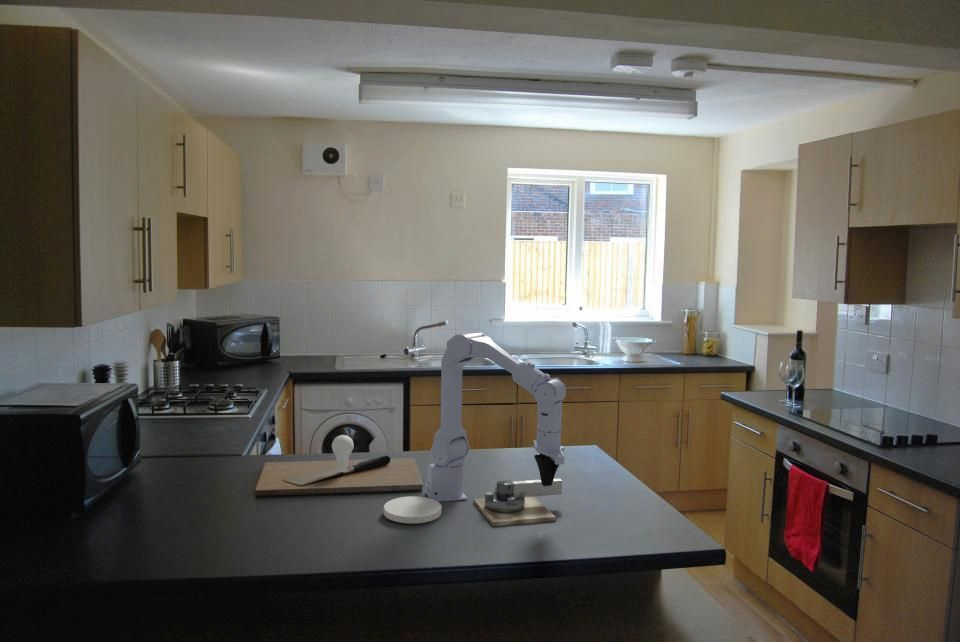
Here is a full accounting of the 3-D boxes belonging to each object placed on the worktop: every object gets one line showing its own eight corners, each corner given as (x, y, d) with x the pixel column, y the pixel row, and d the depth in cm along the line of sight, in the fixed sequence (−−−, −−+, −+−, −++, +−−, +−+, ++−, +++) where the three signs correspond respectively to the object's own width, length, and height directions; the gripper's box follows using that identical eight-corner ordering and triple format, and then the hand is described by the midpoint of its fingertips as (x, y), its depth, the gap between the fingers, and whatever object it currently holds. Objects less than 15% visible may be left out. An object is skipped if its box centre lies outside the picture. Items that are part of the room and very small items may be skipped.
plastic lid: (448, 510, 176) (449, 500, 176) (429, 531, 163) (430, 520, 162) (396, 503, 180) (397, 493, 179) (374, 522, 166) (374, 512, 166)
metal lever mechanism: (491, 514, 170) (492, 491, 169) (479, 500, 179) (480, 478, 179) (567, 508, 176) (568, 485, 175) (552, 494, 185) (553, 473, 184)
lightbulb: (341, 477, 197) (342, 439, 196) (327, 473, 201) (327, 435, 200) (357, 472, 202) (358, 435, 201) (343, 468, 206) (343, 431, 205)
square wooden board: (492, 526, 166) (493, 520, 166) (472, 501, 182) (472, 496, 181) (555, 520, 170) (555, 515, 170) (530, 497, 186) (530, 492, 186)
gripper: (577, 436, 162) (574, 493, 164) (552, 421, 176) (550, 474, 177) (549, 438, 160) (546, 496, 161) (526, 423, 174) (524, 476, 175)
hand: (546, 485), depth 169 cm, fingers closed
